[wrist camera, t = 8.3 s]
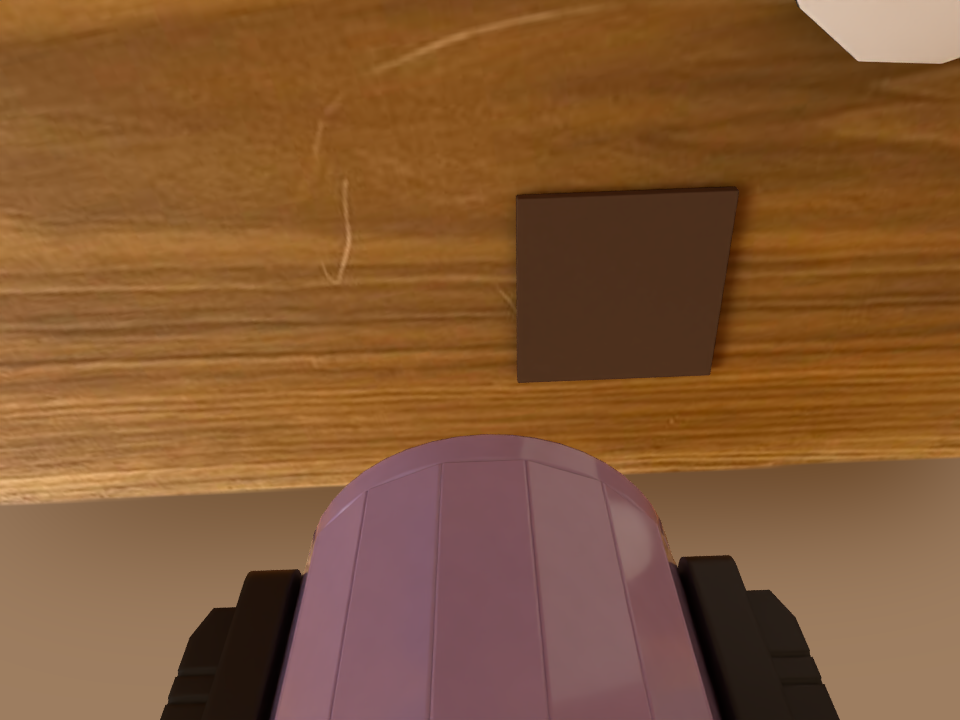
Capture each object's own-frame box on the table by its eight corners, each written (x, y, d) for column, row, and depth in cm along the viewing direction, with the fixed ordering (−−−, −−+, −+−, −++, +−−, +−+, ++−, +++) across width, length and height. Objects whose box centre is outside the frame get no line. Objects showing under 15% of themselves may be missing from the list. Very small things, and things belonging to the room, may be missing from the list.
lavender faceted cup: (336, 686, 14) (279, 1033, 10) (280, 439, 11) (162, 794, 7) (652, 676, 14) (729, 1021, 10) (686, 424, 11) (822, 774, 7)
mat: (516, 377, 28) (517, 383, 28) (515, 194, 24) (516, 199, 24) (707, 369, 28) (710, 375, 28) (736, 186, 24) (739, 190, 24)
